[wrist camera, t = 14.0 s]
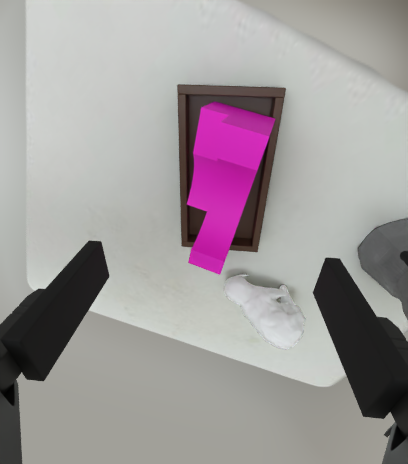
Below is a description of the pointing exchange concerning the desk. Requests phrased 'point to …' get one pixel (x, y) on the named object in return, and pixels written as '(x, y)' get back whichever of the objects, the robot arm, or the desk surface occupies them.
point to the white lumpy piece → (268, 311)
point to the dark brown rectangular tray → (189, 110)
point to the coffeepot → (388, 258)
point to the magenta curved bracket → (224, 176)
